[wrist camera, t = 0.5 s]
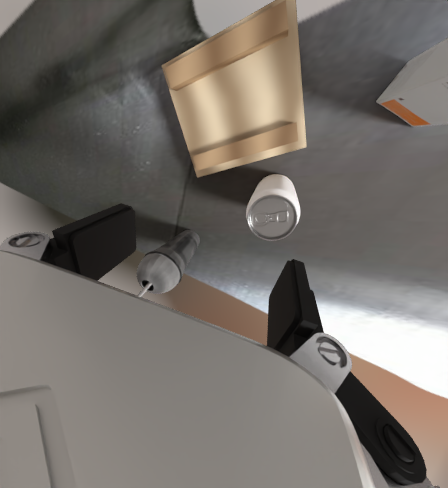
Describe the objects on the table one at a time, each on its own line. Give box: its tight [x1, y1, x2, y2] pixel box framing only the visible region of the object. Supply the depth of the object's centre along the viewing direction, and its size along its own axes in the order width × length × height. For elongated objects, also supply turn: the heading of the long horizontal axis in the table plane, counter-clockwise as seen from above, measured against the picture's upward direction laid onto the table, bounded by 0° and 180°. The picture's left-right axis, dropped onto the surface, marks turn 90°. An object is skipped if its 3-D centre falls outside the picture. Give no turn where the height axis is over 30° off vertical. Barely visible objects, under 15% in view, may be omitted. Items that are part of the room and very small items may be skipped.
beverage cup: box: [137, 230, 200, 297], centre depth 32 cm, size 7×7×20 cm
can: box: [246, 174, 300, 241], centre depth 26 cm, size 6×6×12 cm
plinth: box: [162, 0, 306, 178], centre depth 24 cm, size 16×14×6 cm
